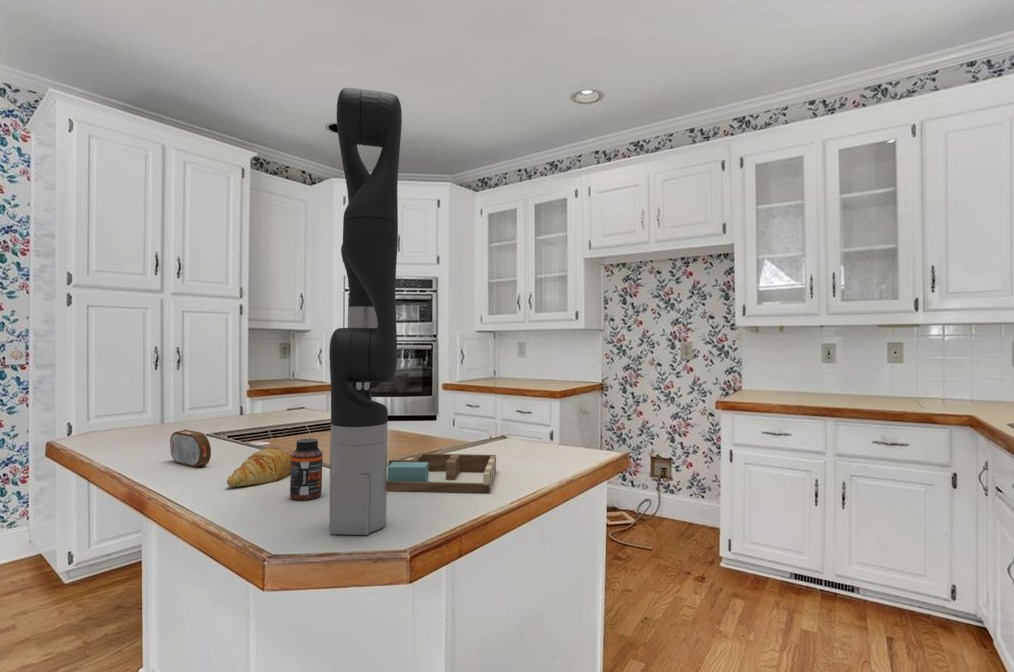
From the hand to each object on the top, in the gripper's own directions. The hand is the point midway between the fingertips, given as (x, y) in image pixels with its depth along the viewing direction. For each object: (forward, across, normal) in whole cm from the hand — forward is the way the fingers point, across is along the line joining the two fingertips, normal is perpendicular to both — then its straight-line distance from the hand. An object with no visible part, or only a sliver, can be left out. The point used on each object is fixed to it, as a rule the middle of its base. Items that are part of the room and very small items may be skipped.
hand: (364, 406), depth 117 cm
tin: (+17, -49, +14) cm, 54 cm away
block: (+17, +10, 0) cm, 20 cm away
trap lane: (+17, +16, +4) cm, 24 cm away
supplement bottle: (+17, -8, -11) cm, 22 cm away
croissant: (+17, -24, +3) cm, 30 cm away
